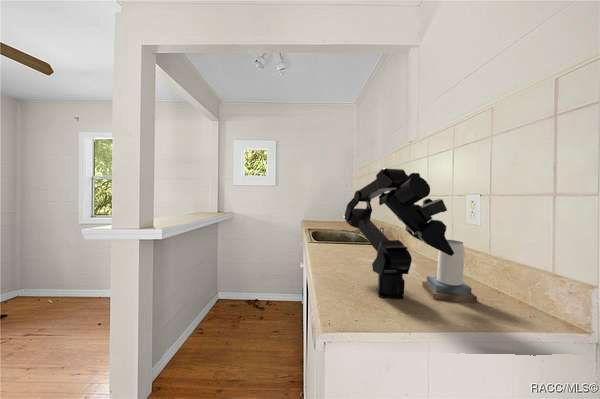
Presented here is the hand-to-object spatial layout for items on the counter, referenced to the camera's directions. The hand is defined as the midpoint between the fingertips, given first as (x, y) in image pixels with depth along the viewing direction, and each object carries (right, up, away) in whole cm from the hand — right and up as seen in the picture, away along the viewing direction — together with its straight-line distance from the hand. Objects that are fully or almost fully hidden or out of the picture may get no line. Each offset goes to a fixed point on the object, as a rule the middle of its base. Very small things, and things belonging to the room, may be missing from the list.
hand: (445, 251), depth 73 cm
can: (+4, -10, +5) cm, 12 cm away
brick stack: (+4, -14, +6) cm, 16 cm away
